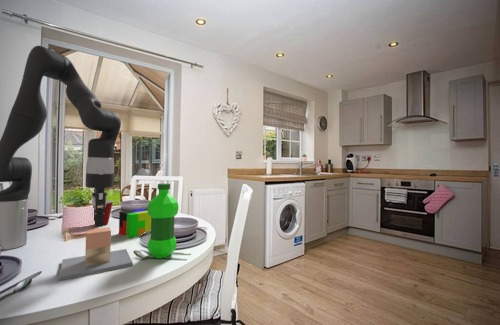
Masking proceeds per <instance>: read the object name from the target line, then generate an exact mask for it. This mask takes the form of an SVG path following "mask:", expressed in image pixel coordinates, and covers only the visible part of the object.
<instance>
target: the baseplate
mask: <svg viewBox="0 0 500 325" xmlns="http://www.w3.org/2000/svg"><path fill="white" fill-rule="evenodd" d="M133 264H134V263H133V260H132V258H131V256H130V254H129V252H128V250H127V248H125V249H117V250H110V262H105V263H99V264H94V265H88V266H85V255H82V256H76V257H71V258H70V257H69V258H64V259H62V260H61V266H60V271H59V276H58V281H59V282H60V281H64V280H69V279H74V278H75V279H76V278H79V277H83V276H84V277H85V276H89V275H93V274H98V273H104V272H107V271H112V270H113V271H114V270H117V269H123V268H128V267H133Z"/></svg>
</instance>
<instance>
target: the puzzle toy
mask: <svg viewBox="0 0 500 325" xmlns="http://www.w3.org/2000/svg"><path fill="white" fill-rule="evenodd" d="M118 215H119V217H118V218H119V220H118V234H119V235H121V236H123V235H124V237H126V236H127V238H130V239H132V238H131V237H133V238H136V237H135V236H137V237H140V235H141V234H143V233H144V232H147V231H149V230H151V217H150V216H149V215H148V211H147V210H146V209H143V208H137V209H129V210H123V211H119V214H118ZM141 236H142V235H141Z"/></svg>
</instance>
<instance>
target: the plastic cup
mask: <svg viewBox="0 0 500 325" xmlns="http://www.w3.org/2000/svg"><path fill="white" fill-rule="evenodd" d="M113 204H114V200H106V207H105V210H106V212H105V213H104V225H103V226H107V225H109V221H110V217H111V213H112V212H111V211H112V207H113ZM103 226H102V227H103Z"/></svg>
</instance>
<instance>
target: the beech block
mask: <svg viewBox="0 0 500 325" xmlns="http://www.w3.org/2000/svg"><path fill="white" fill-rule="evenodd" d="M84 252H85V254H84V256H85V266H88V265H94V264H99V263H105V262H110V252H111V246H108V247H101V248H94V249H88V250H86V249H85V250H84Z"/></svg>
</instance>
